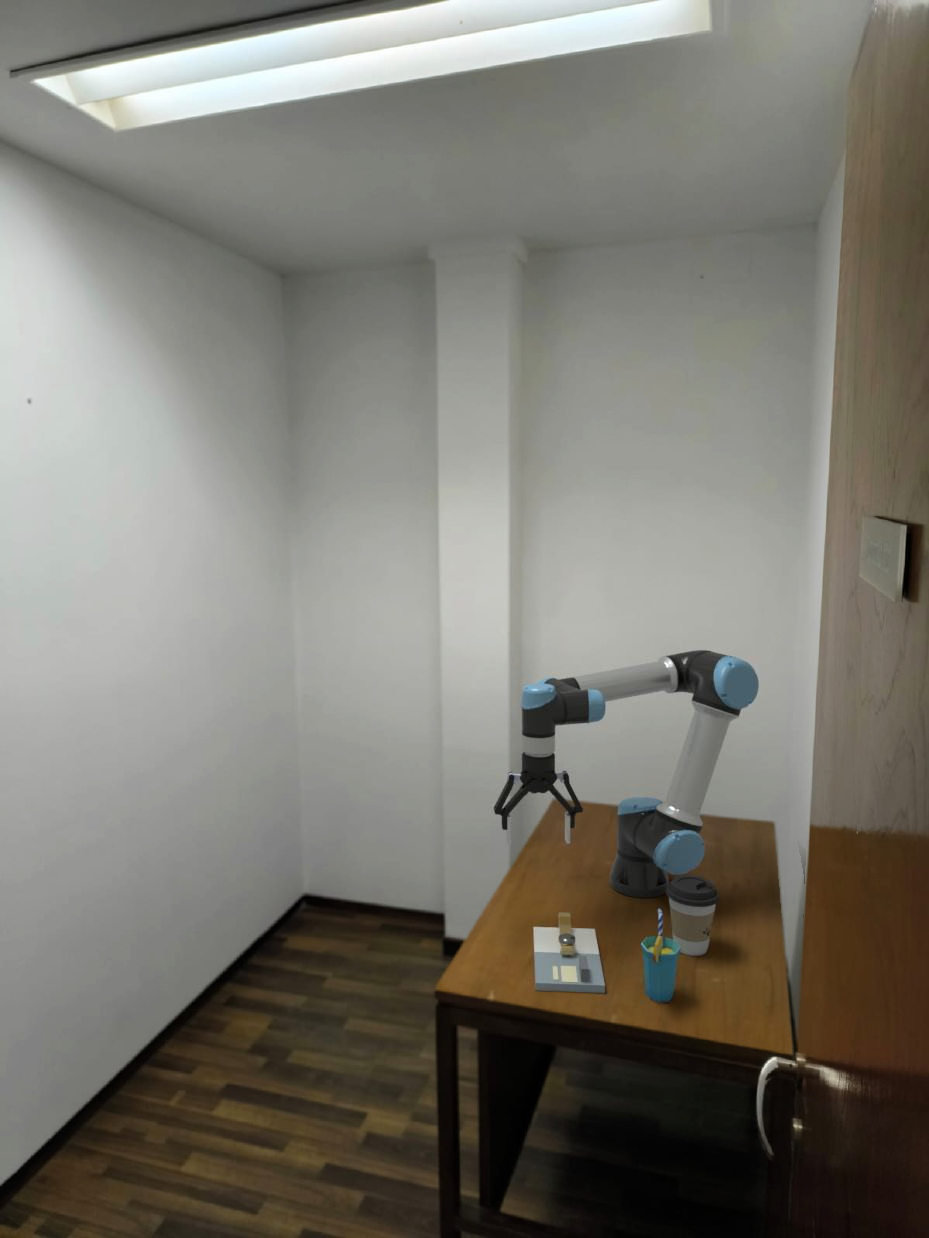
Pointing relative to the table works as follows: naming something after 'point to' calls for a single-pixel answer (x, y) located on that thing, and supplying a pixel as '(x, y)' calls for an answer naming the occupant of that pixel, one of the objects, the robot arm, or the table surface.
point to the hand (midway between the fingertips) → (538, 842)
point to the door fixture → (567, 962)
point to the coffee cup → (692, 912)
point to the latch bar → (565, 934)
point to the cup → (660, 964)
